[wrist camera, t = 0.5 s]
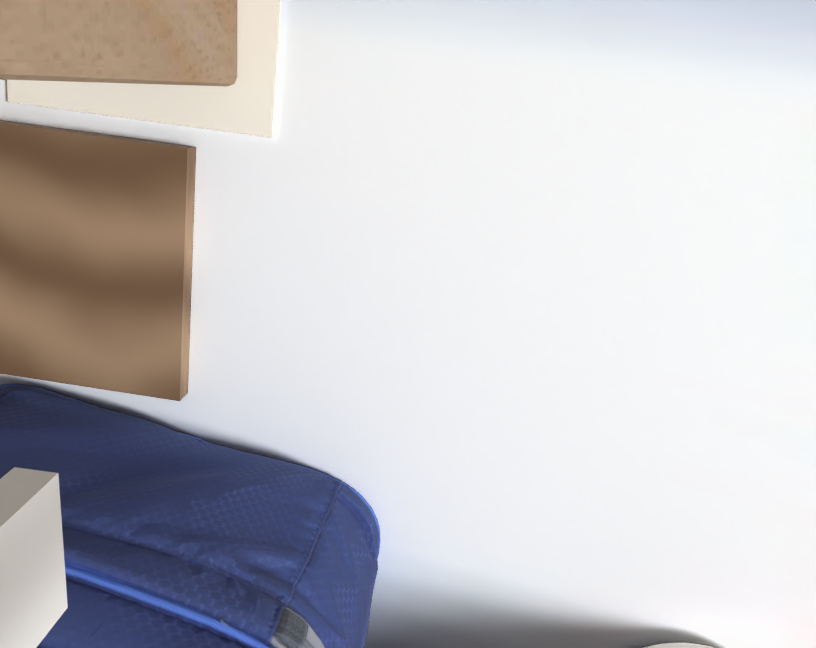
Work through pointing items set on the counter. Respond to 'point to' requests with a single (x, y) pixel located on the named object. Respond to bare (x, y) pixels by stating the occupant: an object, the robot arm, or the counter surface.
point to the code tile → (185, 86)
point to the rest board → (96, 259)
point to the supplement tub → (678, 645)
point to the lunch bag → (191, 535)
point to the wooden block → (120, 41)
